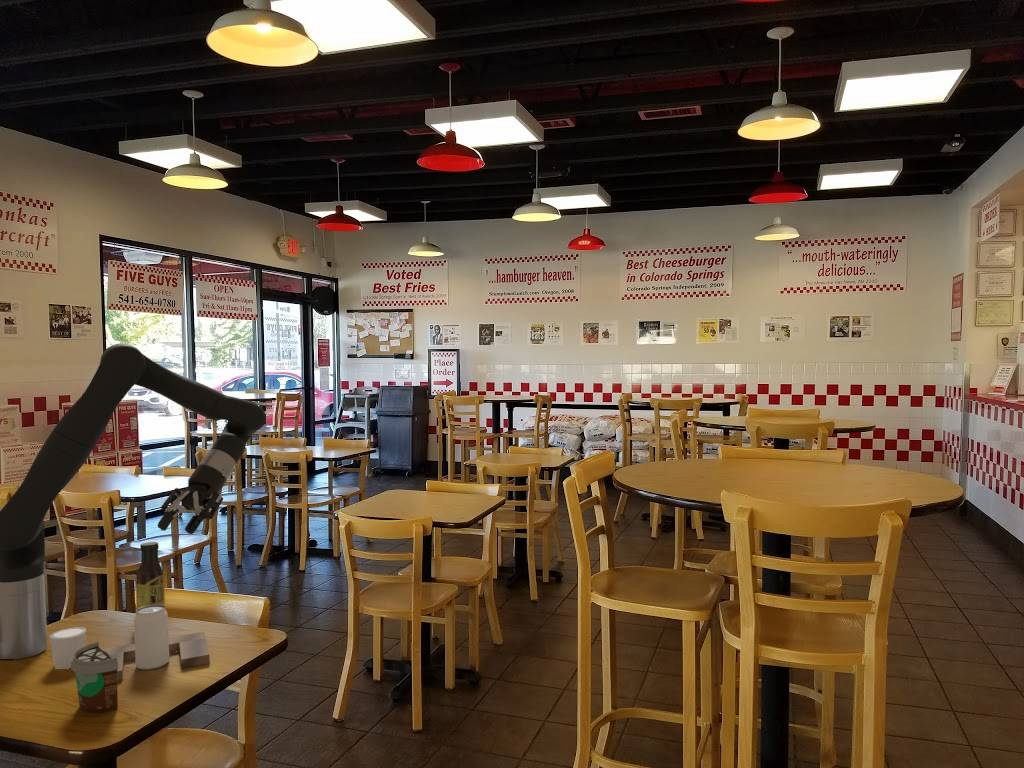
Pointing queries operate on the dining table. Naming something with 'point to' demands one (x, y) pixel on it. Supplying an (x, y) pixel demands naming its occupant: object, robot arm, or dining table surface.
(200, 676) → the dining table surface
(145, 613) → the can
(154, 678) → the dining table surface
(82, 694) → the food container
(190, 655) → the notched board
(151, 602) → the sauce bottle
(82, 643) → the white short cylinder
